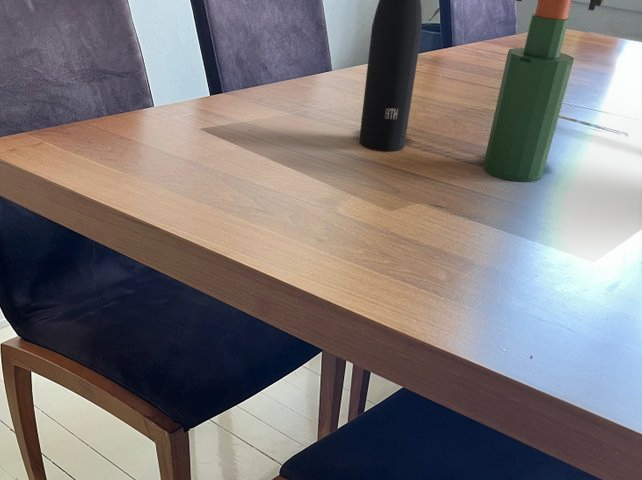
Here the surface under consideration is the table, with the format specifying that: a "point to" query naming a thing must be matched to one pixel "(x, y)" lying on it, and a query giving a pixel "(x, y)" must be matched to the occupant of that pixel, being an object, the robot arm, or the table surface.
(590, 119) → the table surface
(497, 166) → the green bottle
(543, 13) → the stopper
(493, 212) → the table surface
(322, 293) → the table surface
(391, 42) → the black tall cylinder
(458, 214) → the table surface
